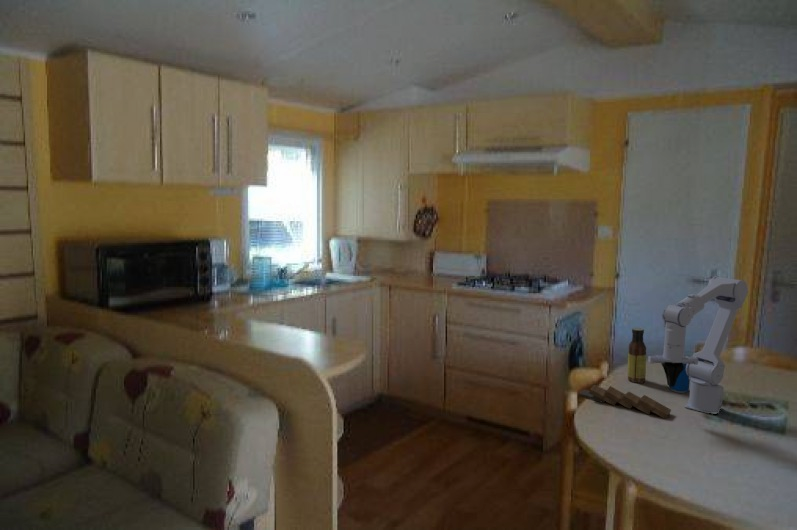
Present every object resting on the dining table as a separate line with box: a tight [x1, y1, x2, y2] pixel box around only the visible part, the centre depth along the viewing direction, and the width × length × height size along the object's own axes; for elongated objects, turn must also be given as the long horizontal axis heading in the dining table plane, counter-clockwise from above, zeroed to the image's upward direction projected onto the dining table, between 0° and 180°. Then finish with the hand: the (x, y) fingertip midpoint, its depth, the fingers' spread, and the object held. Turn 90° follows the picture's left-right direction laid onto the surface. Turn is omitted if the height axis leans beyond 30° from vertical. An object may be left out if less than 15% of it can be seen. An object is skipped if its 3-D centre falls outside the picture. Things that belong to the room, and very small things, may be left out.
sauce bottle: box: [627, 327, 647, 384], centre depth 210 cm, size 7×6×20 cm
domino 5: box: [638, 394, 672, 419], centre depth 181 cm, size 2×5×9 cm
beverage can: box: [668, 364, 691, 394], centre depth 200 cm, size 6×6×12 cm
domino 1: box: [577, 389, 606, 403], centre depth 194 cm, size 2×5×9 cm
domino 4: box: [622, 391, 652, 415], centre depth 184 cm, size 2×5×9 cm
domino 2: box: [589, 384, 618, 406], centre depth 191 cm, size 2×5×9 cm
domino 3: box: [604, 385, 633, 410], centre depth 188 cm, size 2×5×9 cm
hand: (670, 385), depth 177 cm, fingers closed
